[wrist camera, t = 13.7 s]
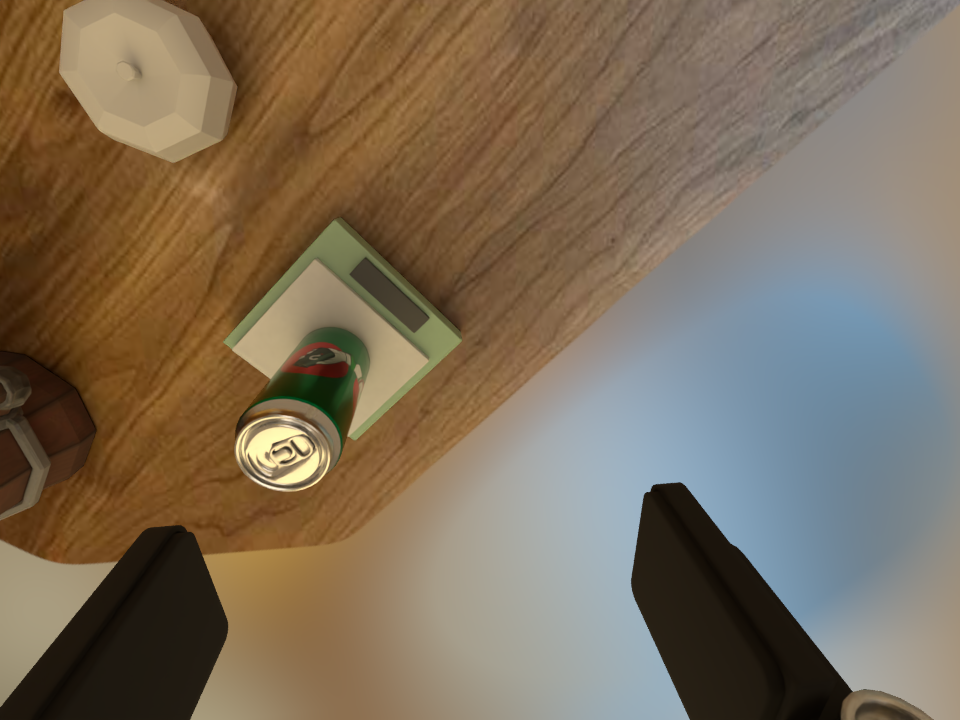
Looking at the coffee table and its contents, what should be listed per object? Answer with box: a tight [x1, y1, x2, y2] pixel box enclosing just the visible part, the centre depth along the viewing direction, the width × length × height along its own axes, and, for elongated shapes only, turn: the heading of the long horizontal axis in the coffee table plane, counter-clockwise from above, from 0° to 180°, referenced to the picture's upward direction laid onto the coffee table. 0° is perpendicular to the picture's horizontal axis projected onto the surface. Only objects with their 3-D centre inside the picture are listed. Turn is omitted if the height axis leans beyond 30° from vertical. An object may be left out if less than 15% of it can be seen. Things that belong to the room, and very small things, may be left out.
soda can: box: [234, 327, 370, 491], centre depth 26 cm, size 5×5×12 cm
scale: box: [223, 217, 462, 440], centre depth 33 cm, size 12×12×3 cm
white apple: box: [59, 0, 237, 163], centre depth 24 cm, size 8×8×7 cm
